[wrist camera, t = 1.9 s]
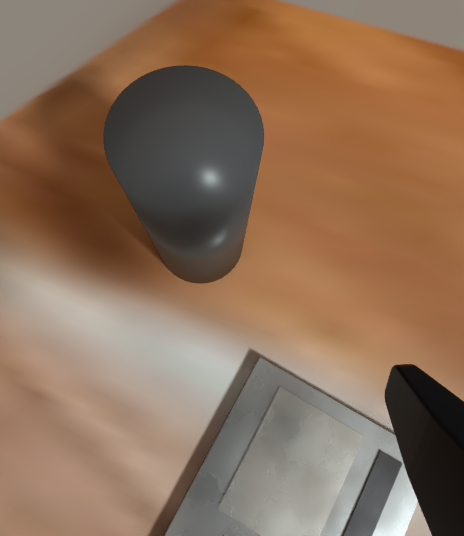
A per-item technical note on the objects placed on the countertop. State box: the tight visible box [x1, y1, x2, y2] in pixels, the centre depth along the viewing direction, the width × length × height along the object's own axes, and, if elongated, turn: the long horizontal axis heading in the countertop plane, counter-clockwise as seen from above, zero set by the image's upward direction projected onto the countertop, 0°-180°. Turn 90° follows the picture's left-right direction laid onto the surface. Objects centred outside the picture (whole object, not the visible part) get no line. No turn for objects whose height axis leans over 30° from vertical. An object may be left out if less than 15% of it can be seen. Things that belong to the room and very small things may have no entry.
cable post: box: [104, 66, 264, 283], centre depth 17 cm, size 5×5×11 cm
